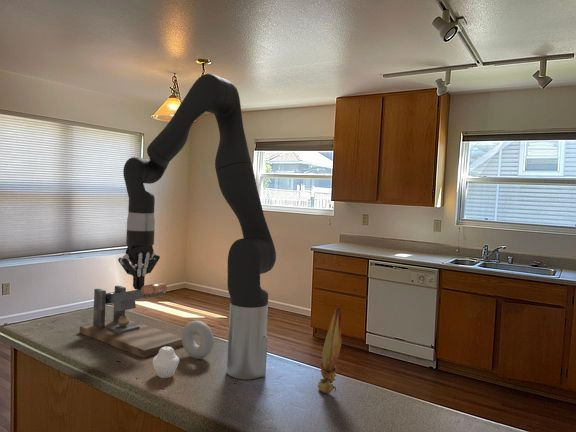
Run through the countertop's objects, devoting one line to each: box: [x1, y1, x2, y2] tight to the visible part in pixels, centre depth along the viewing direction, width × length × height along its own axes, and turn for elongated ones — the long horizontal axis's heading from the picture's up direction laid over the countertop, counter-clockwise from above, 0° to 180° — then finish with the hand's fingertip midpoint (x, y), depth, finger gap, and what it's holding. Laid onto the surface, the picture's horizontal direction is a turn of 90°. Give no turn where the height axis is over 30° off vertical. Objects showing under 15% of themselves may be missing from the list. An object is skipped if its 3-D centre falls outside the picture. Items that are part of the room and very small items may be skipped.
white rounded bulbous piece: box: [152, 346, 180, 379], centre depth 106 cm, size 6×6×7 cm
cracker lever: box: [105, 282, 168, 312], centre depth 130 cm, size 24×6×6 cm, turn 55°
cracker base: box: [79, 285, 183, 359], centre depth 130 cm, size 30×14×13 cm, turn 55°
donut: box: [181, 320, 215, 360], centre depth 118 cm, size 10×4×10 cm, turn 61°
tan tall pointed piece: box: [317, 306, 343, 395], centre depth 100 cm, size 7×5×20 cm
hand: (138, 289), depth 128 cm, fingers closed
